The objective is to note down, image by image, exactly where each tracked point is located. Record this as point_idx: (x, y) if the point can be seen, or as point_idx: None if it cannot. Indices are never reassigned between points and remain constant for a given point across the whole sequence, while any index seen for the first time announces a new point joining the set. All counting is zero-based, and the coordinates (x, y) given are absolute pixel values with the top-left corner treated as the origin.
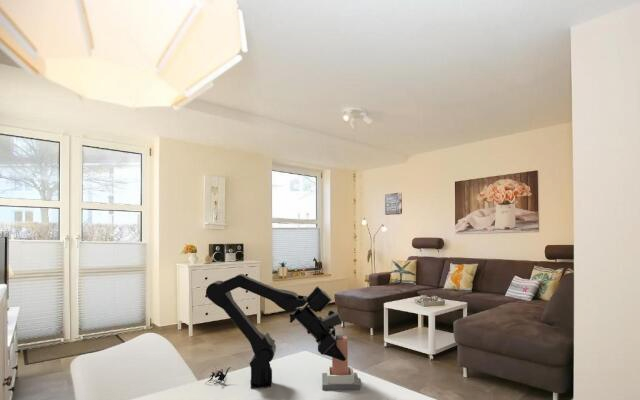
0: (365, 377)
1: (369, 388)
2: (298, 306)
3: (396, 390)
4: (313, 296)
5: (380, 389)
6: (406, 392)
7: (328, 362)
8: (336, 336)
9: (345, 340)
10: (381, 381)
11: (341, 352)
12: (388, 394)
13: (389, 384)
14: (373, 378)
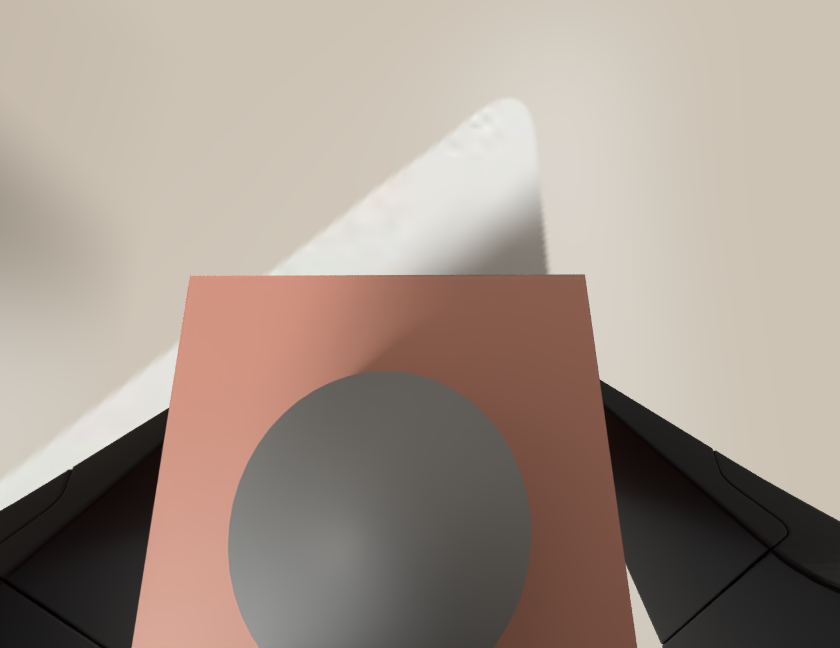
0: (325, 265)
1: (475, 260)
2: None
3: (492, 144)
4: None
5: (485, 210)
6: (511, 109)
7: (8, 503)
8: None
9: (567, 319)
10: (384, 192)
11: (650, 424)
12: (539, 183)
13: (423, 162)
14: (342, 225)
